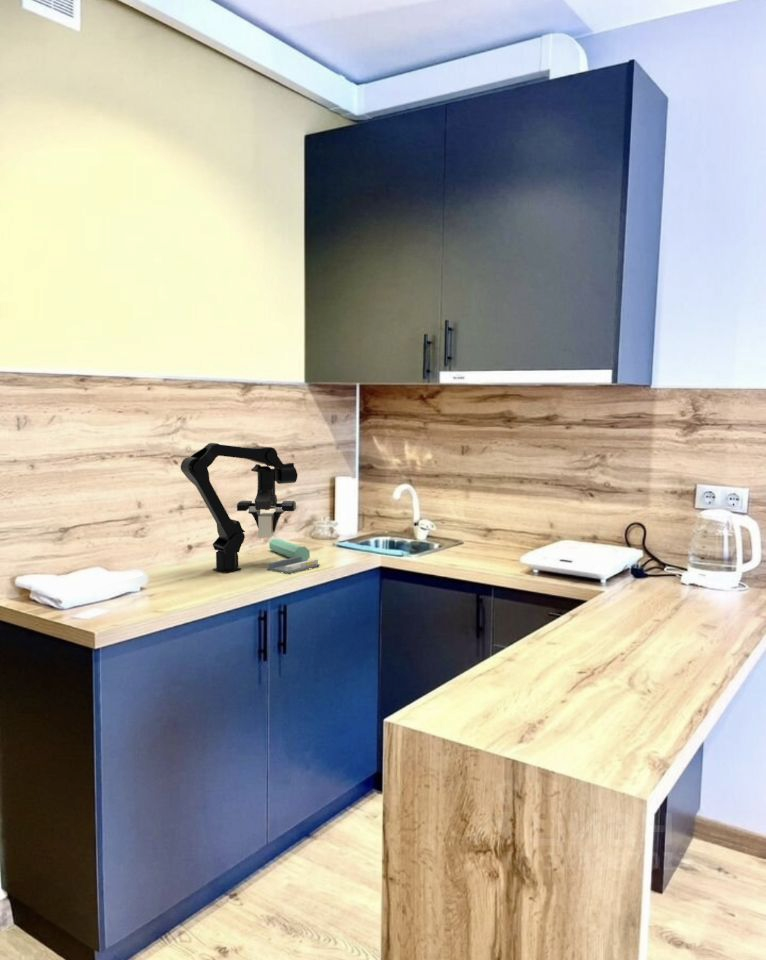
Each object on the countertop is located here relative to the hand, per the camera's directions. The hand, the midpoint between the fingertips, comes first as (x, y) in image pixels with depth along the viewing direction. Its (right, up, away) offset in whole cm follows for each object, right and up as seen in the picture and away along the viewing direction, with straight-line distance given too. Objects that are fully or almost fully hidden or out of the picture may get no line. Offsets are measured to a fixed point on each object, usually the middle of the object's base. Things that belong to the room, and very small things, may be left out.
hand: (267, 531), depth 249 cm
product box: (0, -1, 0) cm, 1 cm away
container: (+5, -10, +16) cm, 19 cm away
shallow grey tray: (+9, -12, -5) cm, 16 cm away
